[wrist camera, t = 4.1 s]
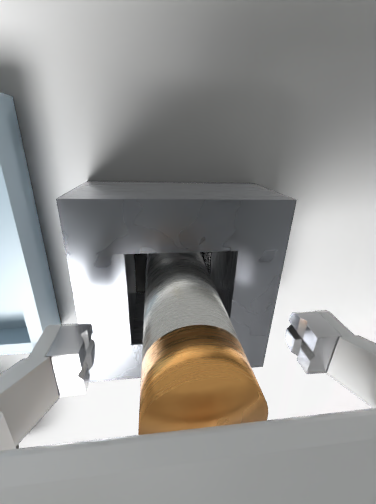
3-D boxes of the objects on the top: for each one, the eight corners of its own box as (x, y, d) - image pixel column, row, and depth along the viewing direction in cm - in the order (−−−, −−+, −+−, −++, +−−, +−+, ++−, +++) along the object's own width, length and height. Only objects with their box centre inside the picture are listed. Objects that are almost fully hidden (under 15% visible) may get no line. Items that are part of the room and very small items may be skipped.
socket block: (254, 183, 16) (296, 199, 11) (236, 314, 19) (262, 366, 15) (86, 181, 14) (56, 198, 10) (104, 322, 18) (89, 382, 14)
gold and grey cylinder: (201, 232, 16) (278, 371, 6) (198, 280, 18) (258, 455, 8) (145, 233, 16) (134, 385, 6) (147, 282, 17) (141, 471, 7)
